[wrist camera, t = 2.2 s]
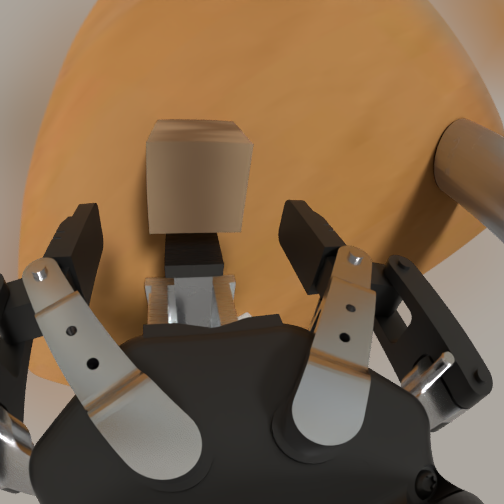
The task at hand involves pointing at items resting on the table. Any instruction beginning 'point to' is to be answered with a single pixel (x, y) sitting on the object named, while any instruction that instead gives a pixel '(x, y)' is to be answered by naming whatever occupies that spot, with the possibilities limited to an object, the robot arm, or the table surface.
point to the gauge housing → (165, 304)
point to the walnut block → (196, 176)
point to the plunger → (193, 274)
